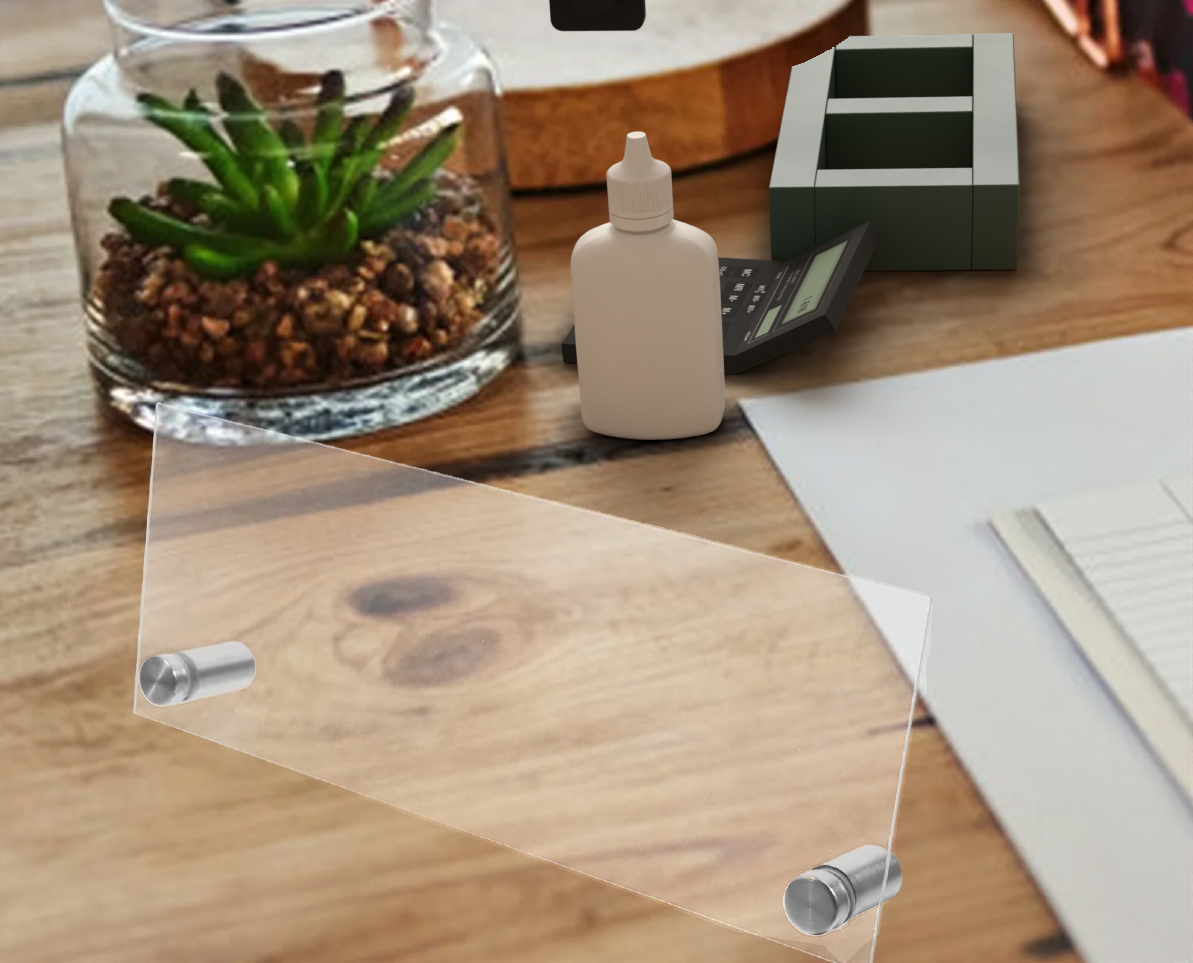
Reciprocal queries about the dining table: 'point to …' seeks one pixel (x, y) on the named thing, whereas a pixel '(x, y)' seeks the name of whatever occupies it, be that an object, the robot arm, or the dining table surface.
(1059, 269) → the dining table surface
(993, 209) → the rack
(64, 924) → the dining table surface
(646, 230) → the eye dropper bottle
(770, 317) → the calculator
